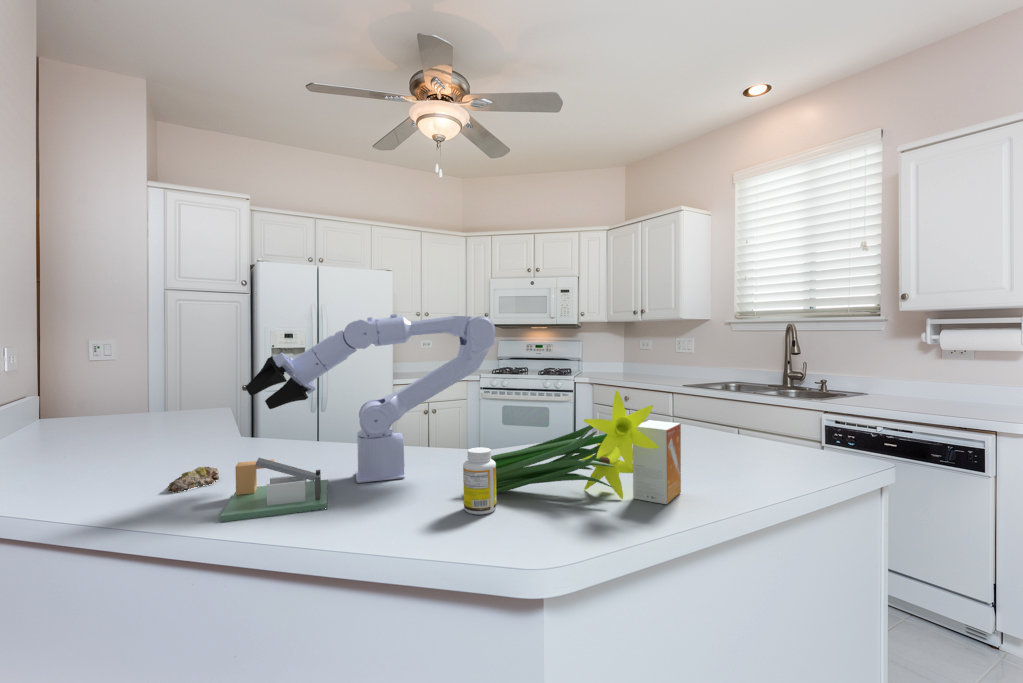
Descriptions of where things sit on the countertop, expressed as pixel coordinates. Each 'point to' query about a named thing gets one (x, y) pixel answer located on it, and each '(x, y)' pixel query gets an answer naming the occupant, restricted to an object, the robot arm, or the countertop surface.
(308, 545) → the countertop surface
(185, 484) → the mineral rock
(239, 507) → the board
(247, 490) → the orange l-shaped block
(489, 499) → the supplement bottle
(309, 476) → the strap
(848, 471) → the countertop surface
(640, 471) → the small box
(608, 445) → the daffodil flowers
